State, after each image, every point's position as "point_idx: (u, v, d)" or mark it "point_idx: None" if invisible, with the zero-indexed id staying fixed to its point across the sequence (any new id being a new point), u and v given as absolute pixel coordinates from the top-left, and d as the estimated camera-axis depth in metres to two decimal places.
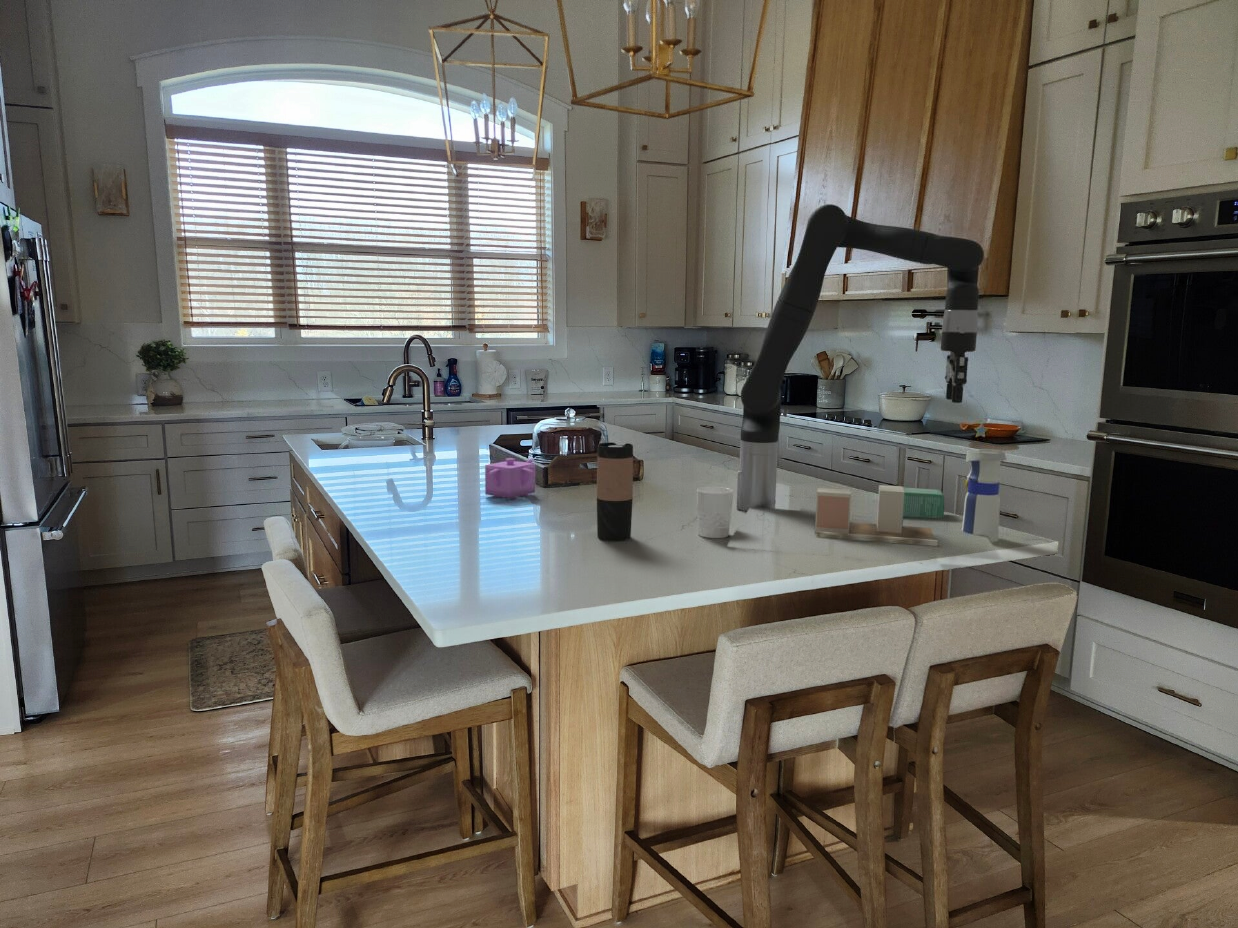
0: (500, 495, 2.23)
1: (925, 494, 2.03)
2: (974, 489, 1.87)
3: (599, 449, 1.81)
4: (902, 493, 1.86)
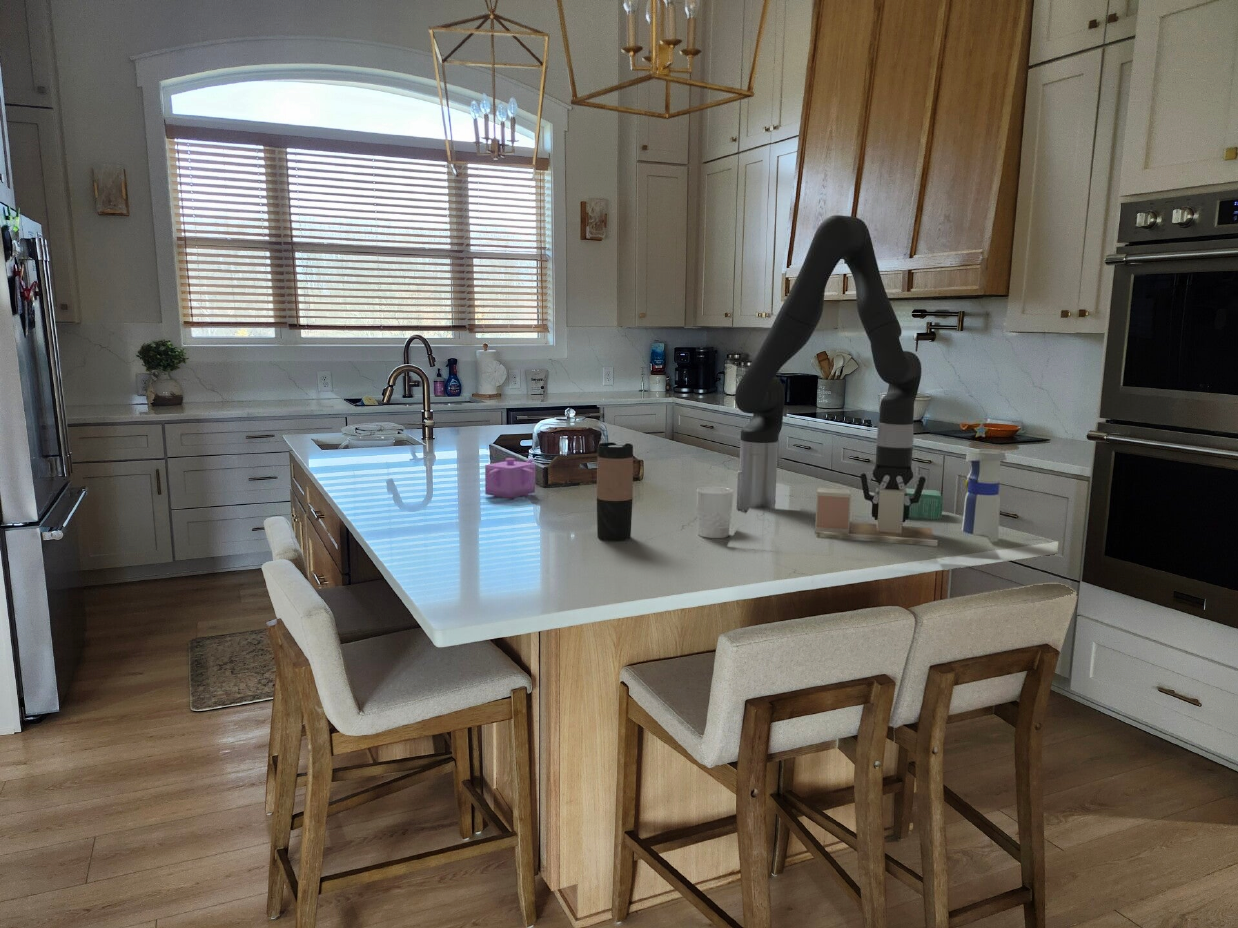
0: (500, 495, 2.23)
1: (923, 495, 2.02)
2: (974, 489, 1.87)
3: (599, 449, 1.81)
4: (902, 493, 1.86)
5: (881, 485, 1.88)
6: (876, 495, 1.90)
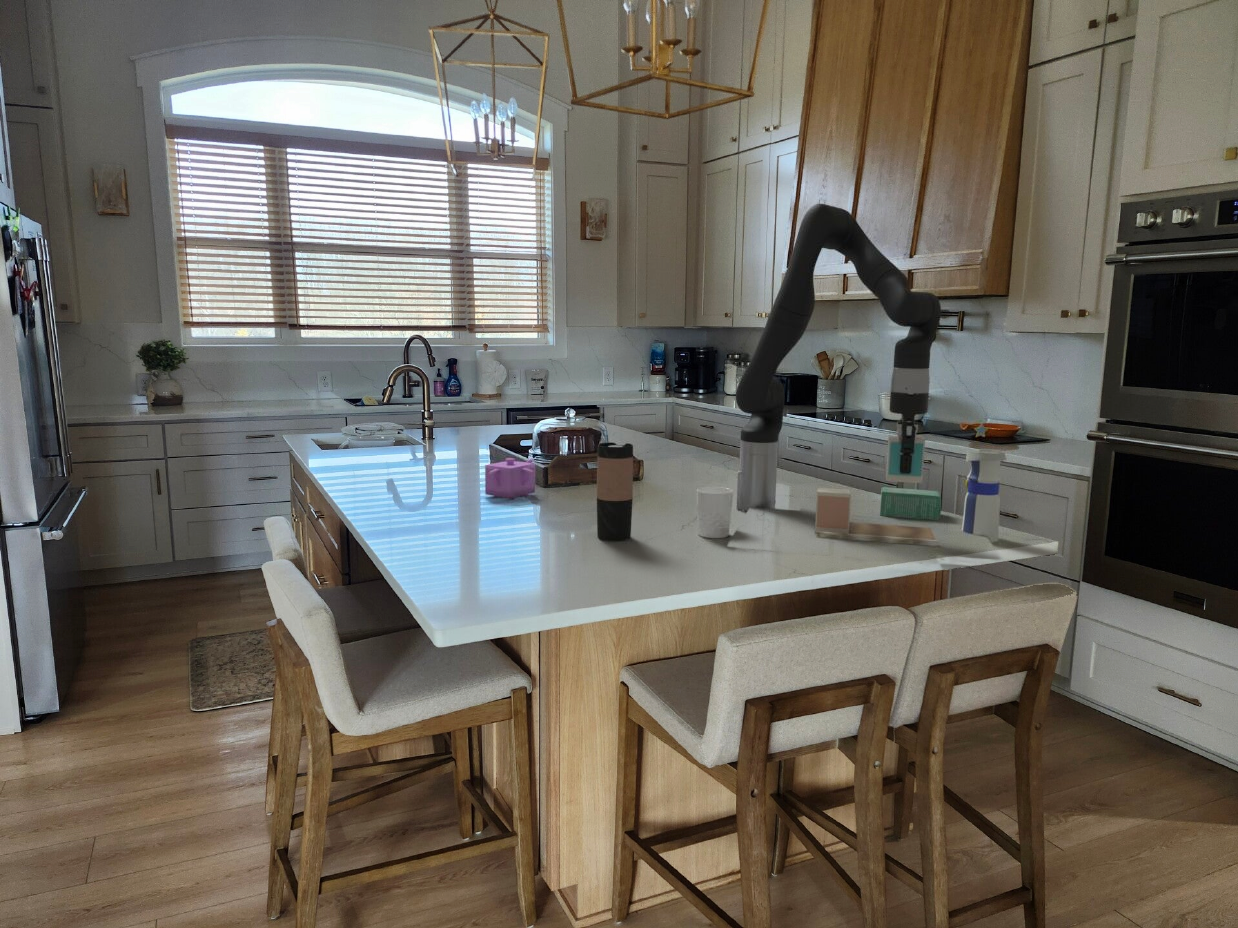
0: (500, 495, 2.23)
1: (921, 495, 2.01)
2: (974, 489, 1.87)
3: (599, 449, 1.81)
4: (889, 439, 1.80)
5: None
6: None
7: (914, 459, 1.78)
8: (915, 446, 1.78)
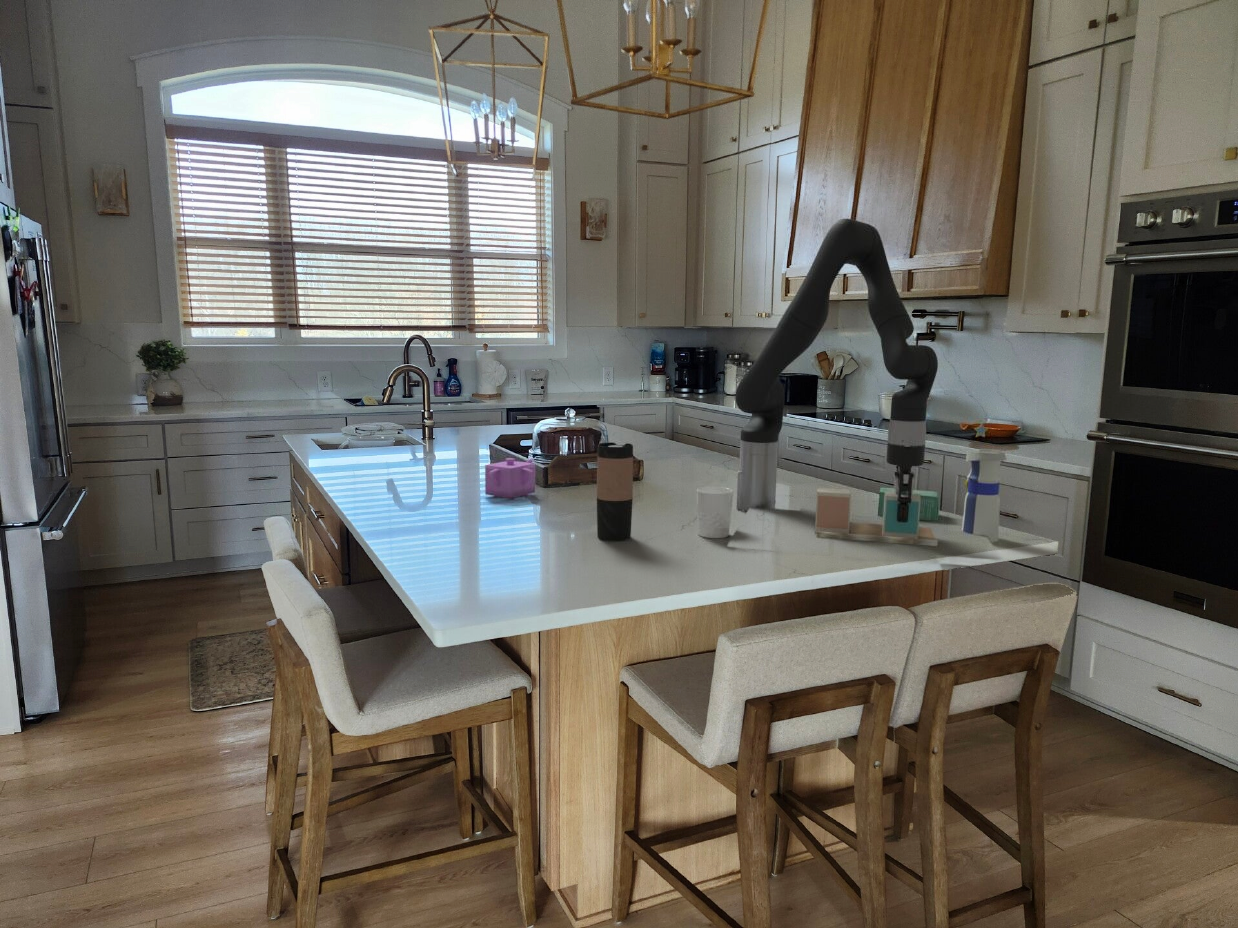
0: (500, 495, 2.23)
1: None
2: (974, 489, 1.87)
3: (599, 449, 1.81)
4: (885, 497, 1.81)
5: None
6: None
7: (910, 517, 1.80)
8: (911, 504, 1.80)
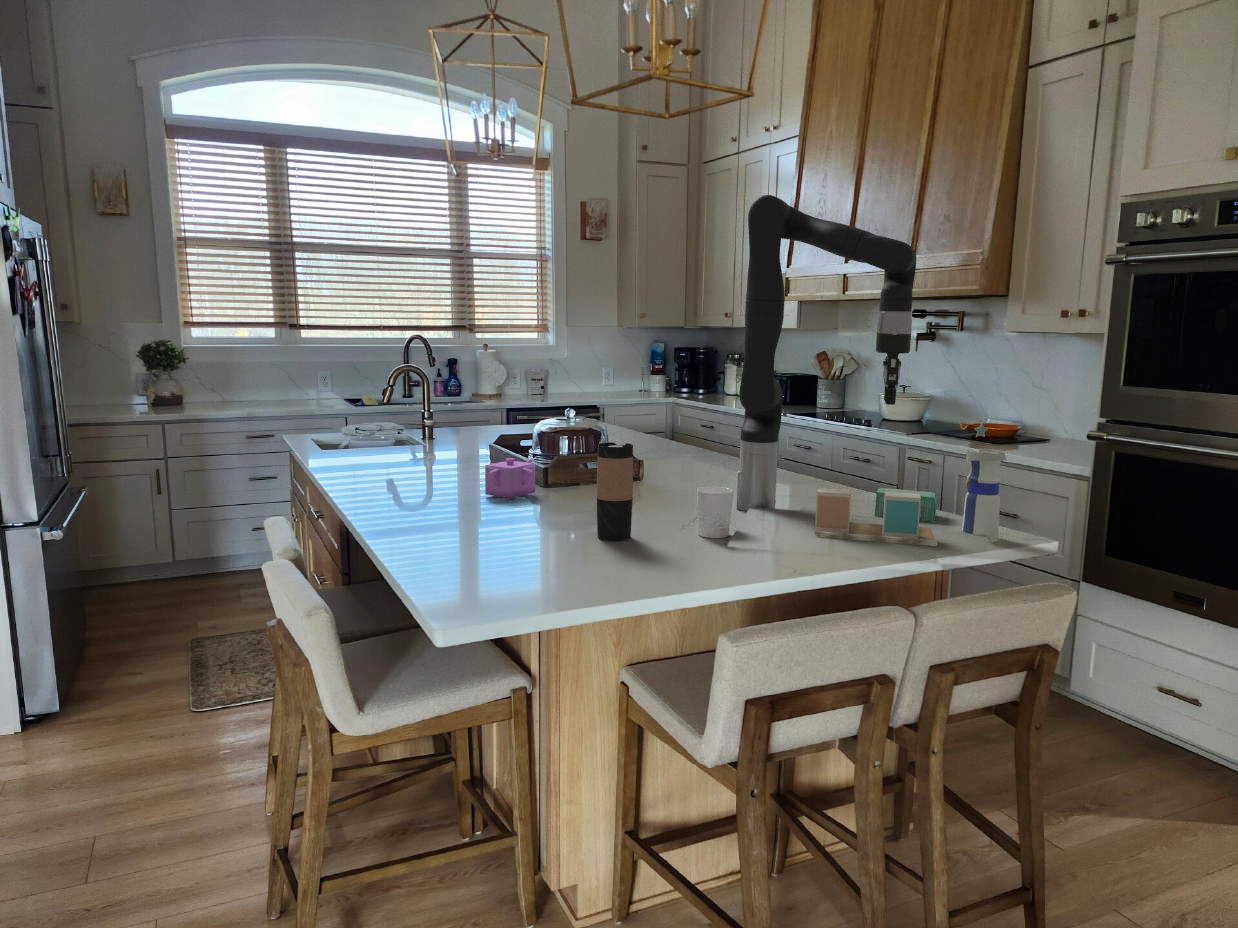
0: (500, 495, 2.23)
1: None
2: (974, 489, 1.87)
3: (599, 449, 1.81)
4: (885, 497, 1.81)
5: (883, 369, 2.02)
6: None
7: (910, 517, 1.80)
8: (911, 504, 1.80)
